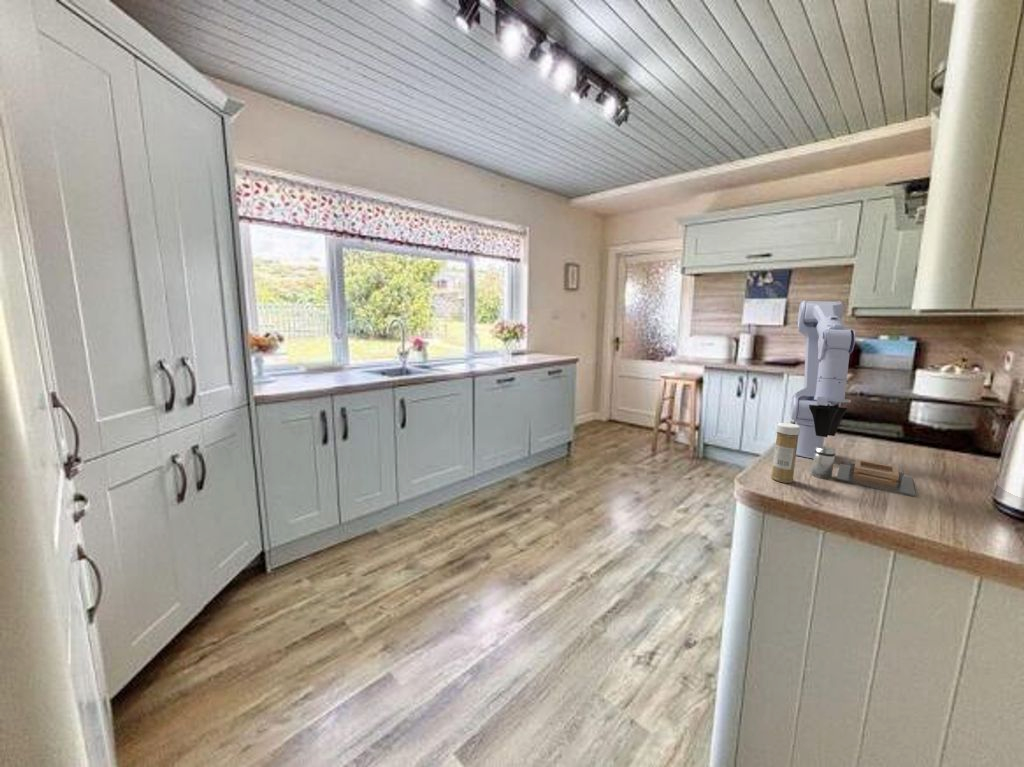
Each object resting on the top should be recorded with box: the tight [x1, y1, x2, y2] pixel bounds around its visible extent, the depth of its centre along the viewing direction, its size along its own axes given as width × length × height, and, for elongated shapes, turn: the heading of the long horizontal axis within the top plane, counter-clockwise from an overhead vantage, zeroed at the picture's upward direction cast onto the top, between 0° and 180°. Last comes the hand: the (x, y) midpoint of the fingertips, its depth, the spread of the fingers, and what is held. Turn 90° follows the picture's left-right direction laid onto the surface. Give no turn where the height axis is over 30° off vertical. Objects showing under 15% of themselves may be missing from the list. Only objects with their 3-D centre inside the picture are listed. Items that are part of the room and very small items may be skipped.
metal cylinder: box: [811, 445, 836, 480], centre depth 107 cm, size 4×4×7 cm
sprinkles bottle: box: [770, 422, 800, 484], centre depth 103 cm, size 5×5×14 cm
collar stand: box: [836, 459, 916, 498], centre depth 106 cm, size 14×14×3 cm
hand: (825, 436), depth 106 cm, fingers open, 7 cm apart
